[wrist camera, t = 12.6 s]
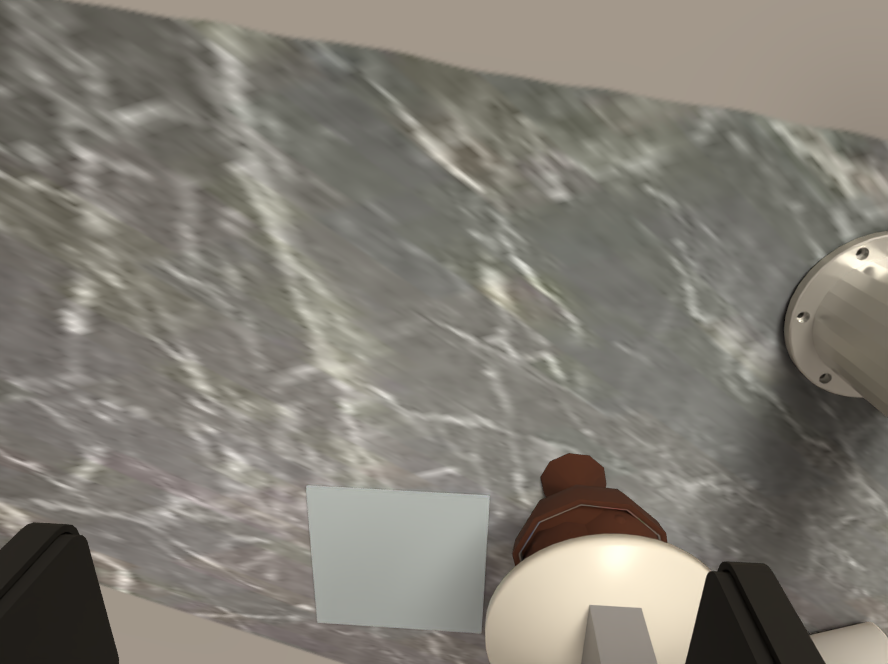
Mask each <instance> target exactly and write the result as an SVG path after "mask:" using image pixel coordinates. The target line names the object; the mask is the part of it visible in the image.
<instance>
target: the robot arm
mask: <svg viewBox="0 0 888 664" xmlns="http://www.w3.org/2000/svg"><path fill="white" fill-rule="evenodd" d="M857 251H858V252H857ZM856 252H857V253H856ZM798 314H799V315H798ZM784 336H785V344H786V347H787V350H788V353H789V355H790V358H791V360H792V361H793V363H794V364H795V365H796V367H797V368H798V370H799V371H800V372H801V373H802V374H803V375H804V376H805V377H806V378H807V379H808V380H810V381H811V382H812V383H814V384H815V385H816V386H818V387H820V388H822V389H824V390H826V391H829V392H831V393H833V394H837V395H842V396H846V397H858V398H865V399H866V400H867V401H868V402H870V403H871V404H872V405H873V406H874V407H875V408H877V409H878V410H879V411H880V412H881V413H882V414H884V415H885V416H886V417H887V418H888V231H884V232H877V233H873V234H870V235H866V236H863V237H860V238H857V239H855V240H853V241H851V242H848V243H846V244H844V245H842V246H840V247H838V248H837V249H836V250H834V251H833V252H831V253H830V254H828V255H827V256H825V257H824V258H823V259H822V260H821V261H819V262H818V263H817V264H816V265H815V266H814V267H813V268H812V269H811V270H810V271H809V272H808V273H807V275H806V276H805V277H804V279H803V280H802V281H801V283H800V284H799V285H798V287H797V289H796V291H795V293H794V294H793V296H792V298H791V300H790V303H789V306H788V309H787V313H786V316H785V325H784ZM0 664H119V657H118V653H117V649H116V645H115V642H114V638H113V635H112V631H111V627H110V624H109V620H108V617H107V612H106V609H105V605H104V601H103V597H102V594H101V590H100V586H99V583H98V579H97V575H96V572H95V568H94V564H93V560H92V557H91V553H90V549H89V546H88V542H87V540H86V538H85V537H84V536H83V535H79V533H78V530H77V528H75V527H74V526H73V525H68V524H52V523H31V524H28V525H26V526H25V527H24V528H22V529H21V530H20V531H19V532H18V533H17V534H16V535H15V536H14V537H13V538H12V539H11V540H10V541H9V542H8V543H7V544H6V545H5V546H4V547H3V548H2V549H1V550H0ZM685 664H826V663H825V661H824V660H823V658H822V656H821V655H820V653H819V651H818V649H817V648H816V646H815V644H814V642H813V641H812V639H811V637H810V636H809V634H808V632H807V630H806V629H805V627H804V625H803V623H802V622H801V620H800V618H799V617H798V615H797V613H796V611H795V610H794V608H793V606H792V605H791V603H790V601H789V599H788V598H787V596H786V594H785V592H784V591H783V589H782V587H781V586H780V584H779V582H778V580H777V579H776V577H775V575H774V573H773V572H772V571H771V569H770V568H769V567H768V566H767V565H765V564H761V563H743V562H722V563H721V564H720V566H719V568H718V571H717V572H716V571H709V573H708V574H707V576H706V579H705V583H704V588H703V592H702V596H701V600H700V604H699V608H698V612H697V616H696V621H695V625H694V629H693V633H692V637H691V641H690V645H689V649H688V654H687V658H686V662H685Z"/></svg>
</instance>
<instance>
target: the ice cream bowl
mask: <svg viewBox="0 0 888 664" xmlns="http://www.w3.org/2000/svg"><path fill="white" fill-rule="evenodd" d="M541 481H542V486H543V491H544V494H545V496H546V498H544V499H542V500H540V501H539V502H538V504H537V505H536V507H535V509H534V510H533V512H532V513H531V515H530V517H529V518H528V520H527V522H526V523H525V525H524V526H523V528H522V530H521V531H520V533H519V535H518V536H517V538H516V539H515V544H514V548H513V553H512V554H513V559H514V563H515V566H517V565H518V564H519V563H520V562H522V561H523V560H524V559H526V558H527V557H529V556H531V555H532V554H534V553H536V552H538V551H539V550H542V549H544V548H546V547H548V546H551V545H553V544H556V543H559V542H562V541H565V540H568V539H572V538H577V537H582V536H587V535H597V534H628V535H637V536H643V537H648V538H652V539H656V540H659V541H662V542H665V543H667V536H666V532H665V531H664V530H663V528H662V527H661V526H660V524H659V523H658V522H657V520H655V519H654V518H653V517H652V516H651V515H649V514H648V513H647V512H646V511H645V510H643V509H642V508H641V507H640V506H638V505H637V504H636V503H635V502H634V501H632V500H631V499H630V498H629V497H628V496H626V495H625V494H624V493H622V492H621V491H619V490H618V489H611V488H606V479H605V472H604V467H602V466H601V465H600V464H599V463H598V462H596V461H595V460H594V459H593V458H592V457H590V456H588V455H579V454H570V453H568V454H566V455H564V456H561V457H559V458H557V459H555V460H552V461H550V462H549V464H548V466H547V467H546V469H545V471H544V472H543V474H542V476H541Z"/></svg>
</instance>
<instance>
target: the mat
mask: <svg viewBox="0 0 888 664" xmlns="http://www.w3.org/2000/svg"><path fill="white" fill-rule="evenodd" d="M306 494H307V506H308V518H309V530H310V542H311V554H312V566H313V578H314V589H315V601H316V613H317V623H331V624H346V625H360V626H375V627H390V628H405V629H420V630H435V631H449V632H464V633H479V634H481V633H482V617H483V600H484V583H485V567H486V550H487V533H488V517H489V500H490V495H474V494H456V493H438V492H420V491H402V490H385V489H367V488H349V487H331V486H313V485H307V487H306Z"/></svg>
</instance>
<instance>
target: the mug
mask: <svg viewBox="0 0 888 664" xmlns="http://www.w3.org/2000/svg"><path fill="white" fill-rule="evenodd" d="M809 636H810V637H811V639H812V641H813V642H814V644H815V646H816V648H817V649H818V651H819V653H820V655H821V656H822V658H823V660H824V661H825V663H826V664H888V638H887V636H886V635H885V634H884V633H883V632H882V630H881V629H880V628H879V627H878V626H877V625H875V624H874V623H872V622H865V623H860V624H856V625H852V626H847V627H843V628H839V629H834V630H830V631H826V632H821V633H817V634H813V635H809Z"/></svg>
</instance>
